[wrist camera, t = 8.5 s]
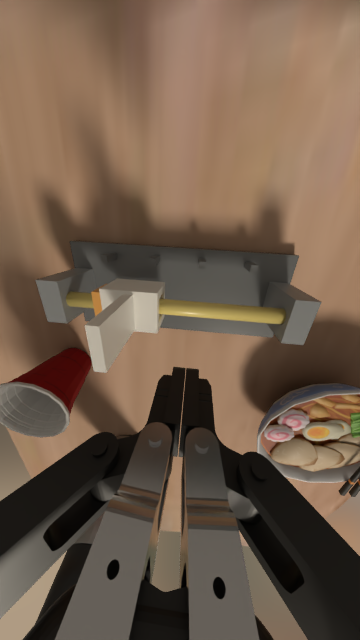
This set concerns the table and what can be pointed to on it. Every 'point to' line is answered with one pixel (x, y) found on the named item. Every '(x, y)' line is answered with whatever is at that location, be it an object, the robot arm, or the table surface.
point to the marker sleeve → (123, 318)
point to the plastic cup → (44, 395)
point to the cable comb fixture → (189, 288)
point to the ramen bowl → (315, 435)
